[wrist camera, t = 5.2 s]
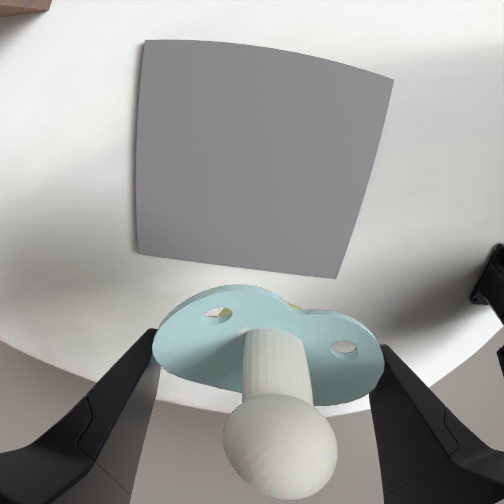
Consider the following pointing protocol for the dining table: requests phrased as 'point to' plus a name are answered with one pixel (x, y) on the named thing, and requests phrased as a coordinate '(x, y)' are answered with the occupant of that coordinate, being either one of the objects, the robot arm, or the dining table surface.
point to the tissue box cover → (22, 6)
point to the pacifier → (272, 379)
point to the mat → (253, 155)
